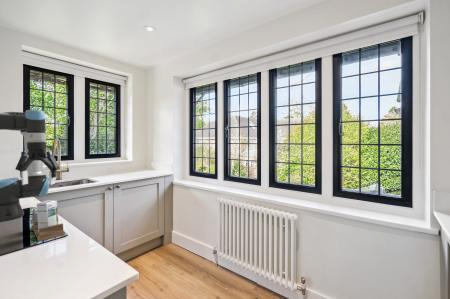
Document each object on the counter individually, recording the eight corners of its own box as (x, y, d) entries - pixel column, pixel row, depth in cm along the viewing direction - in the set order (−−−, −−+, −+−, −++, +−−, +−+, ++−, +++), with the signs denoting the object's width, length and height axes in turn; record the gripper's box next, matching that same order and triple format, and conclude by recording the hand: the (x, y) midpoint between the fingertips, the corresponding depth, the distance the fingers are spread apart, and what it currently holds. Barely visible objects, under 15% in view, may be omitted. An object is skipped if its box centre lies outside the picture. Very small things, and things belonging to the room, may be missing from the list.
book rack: (32, 229, 121) (31, 211, 121) (55, 224, 128) (54, 207, 128) (38, 241, 105) (37, 220, 105) (65, 235, 113) (64, 215, 112)
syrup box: (48, 233, 111) (47, 203, 110) (37, 233, 112) (36, 203, 111) (58, 229, 117) (57, 200, 116) (48, 228, 117) (47, 199, 117)
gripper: (4, 141, 112) (6, 185, 113) (56, 141, 112) (58, 185, 113) (18, 141, 119) (20, 182, 120) (67, 141, 119) (68, 182, 121)
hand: (38, 184), depth 117 cm, fingers open, 13 cm apart
